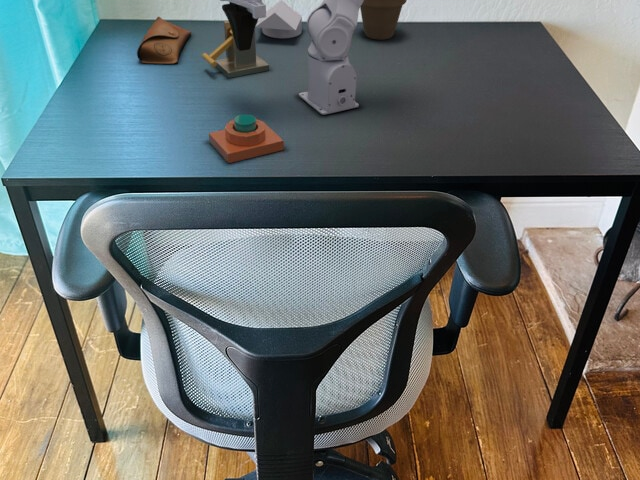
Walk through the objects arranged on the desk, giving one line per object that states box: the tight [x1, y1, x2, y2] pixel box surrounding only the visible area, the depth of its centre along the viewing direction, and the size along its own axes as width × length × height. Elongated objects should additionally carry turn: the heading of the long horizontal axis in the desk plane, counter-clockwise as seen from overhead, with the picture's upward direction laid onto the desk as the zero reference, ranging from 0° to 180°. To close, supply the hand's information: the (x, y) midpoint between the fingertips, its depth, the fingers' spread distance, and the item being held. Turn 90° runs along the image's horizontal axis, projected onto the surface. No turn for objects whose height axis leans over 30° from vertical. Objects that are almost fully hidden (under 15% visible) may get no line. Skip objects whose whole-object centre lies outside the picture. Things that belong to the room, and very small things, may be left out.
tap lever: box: [201, 29, 233, 68], centre depth 131 cm, size 10×5×2 cm, turn 120°
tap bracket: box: [214, 20, 270, 79], centre depth 132 cm, size 9×7×9 cm
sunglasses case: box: [136, 16, 192, 65], centre depth 141 cm, size 18×7×7 cm, turn 0°
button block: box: [208, 118, 285, 164], centre depth 110 cm, size 8×10×4 cm
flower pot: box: [359, 0, 407, 41], centre depth 148 cm, size 12×11×10 cm
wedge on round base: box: [255, 0, 303, 39], centre depth 148 cm, size 9×7×13 cm
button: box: [233, 113, 257, 133], centre depth 108 cm, size 4×4×2 cm
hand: (243, 48), depth 116 cm, fingers closed
